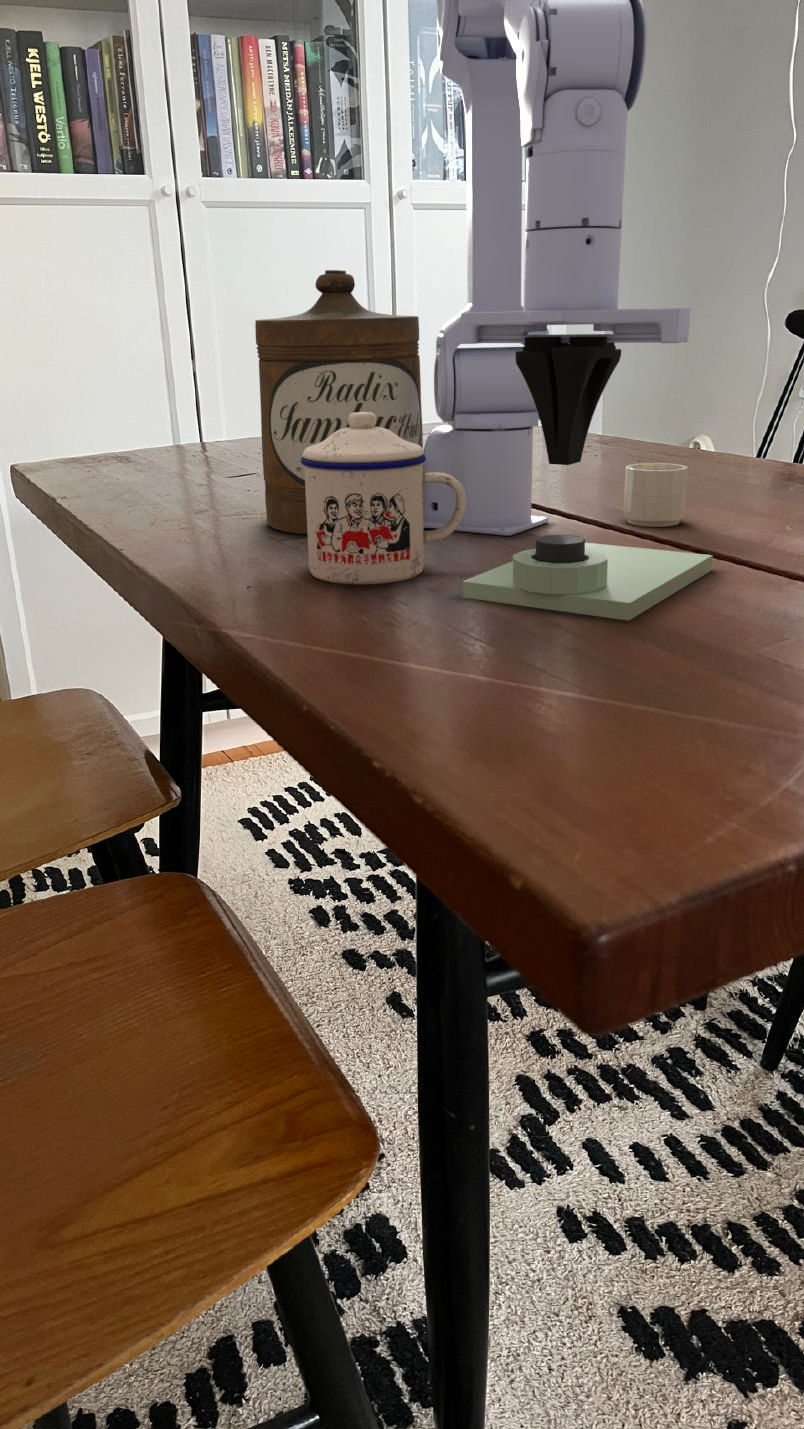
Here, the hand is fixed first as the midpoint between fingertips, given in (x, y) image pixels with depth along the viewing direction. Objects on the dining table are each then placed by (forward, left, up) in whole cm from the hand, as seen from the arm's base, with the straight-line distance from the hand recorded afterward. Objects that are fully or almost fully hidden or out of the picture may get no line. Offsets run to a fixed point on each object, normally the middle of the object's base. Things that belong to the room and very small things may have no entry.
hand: (564, 463), depth 68 cm
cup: (-5, +30, -9) cm, 32 cm away
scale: (0, +5, -9) cm, 10 cm away
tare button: (0, -1, -6) cm, 6 cm away
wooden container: (-30, +17, -9) cm, 36 cm away
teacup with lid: (-15, +1, -9) cm, 18 cm away
